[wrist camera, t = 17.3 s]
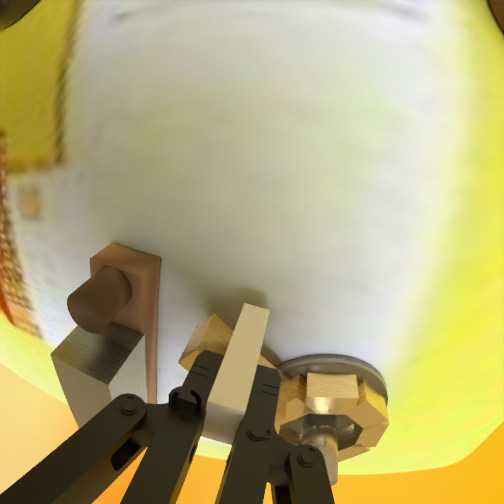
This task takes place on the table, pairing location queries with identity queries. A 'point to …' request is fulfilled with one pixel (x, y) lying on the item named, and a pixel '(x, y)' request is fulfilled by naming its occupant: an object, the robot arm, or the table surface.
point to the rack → (121, 299)
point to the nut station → (326, 425)
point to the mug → (498, 11)
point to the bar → (100, 368)
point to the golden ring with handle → (308, 395)
